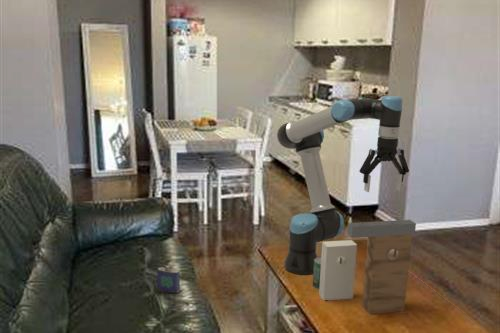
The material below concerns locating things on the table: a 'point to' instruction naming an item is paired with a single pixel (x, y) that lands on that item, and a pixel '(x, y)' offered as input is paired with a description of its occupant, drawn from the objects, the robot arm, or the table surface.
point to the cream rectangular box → (337, 270)
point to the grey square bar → (381, 228)
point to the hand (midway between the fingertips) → (382, 190)
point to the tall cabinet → (386, 273)
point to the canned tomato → (316, 272)
